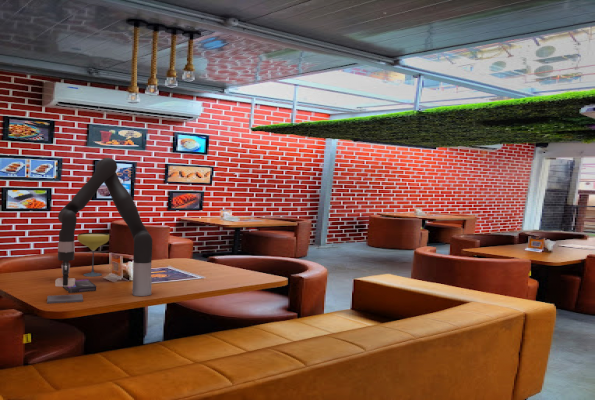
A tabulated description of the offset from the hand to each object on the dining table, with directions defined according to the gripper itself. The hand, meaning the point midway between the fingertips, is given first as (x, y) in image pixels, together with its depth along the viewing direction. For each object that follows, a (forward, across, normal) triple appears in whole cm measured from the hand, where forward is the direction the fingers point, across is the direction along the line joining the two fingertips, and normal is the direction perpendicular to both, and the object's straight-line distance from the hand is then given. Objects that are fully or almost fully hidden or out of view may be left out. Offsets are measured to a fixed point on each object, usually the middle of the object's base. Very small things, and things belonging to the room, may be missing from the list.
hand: (65, 284), depth 263 cm
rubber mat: (+8, 0, 0) cm, 8 cm away
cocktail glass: (+8, -62, +16) cm, 64 cm away
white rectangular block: (+1, 0, 0) cm, 1 cm away
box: (+8, -25, +7) cm, 27 cm away
